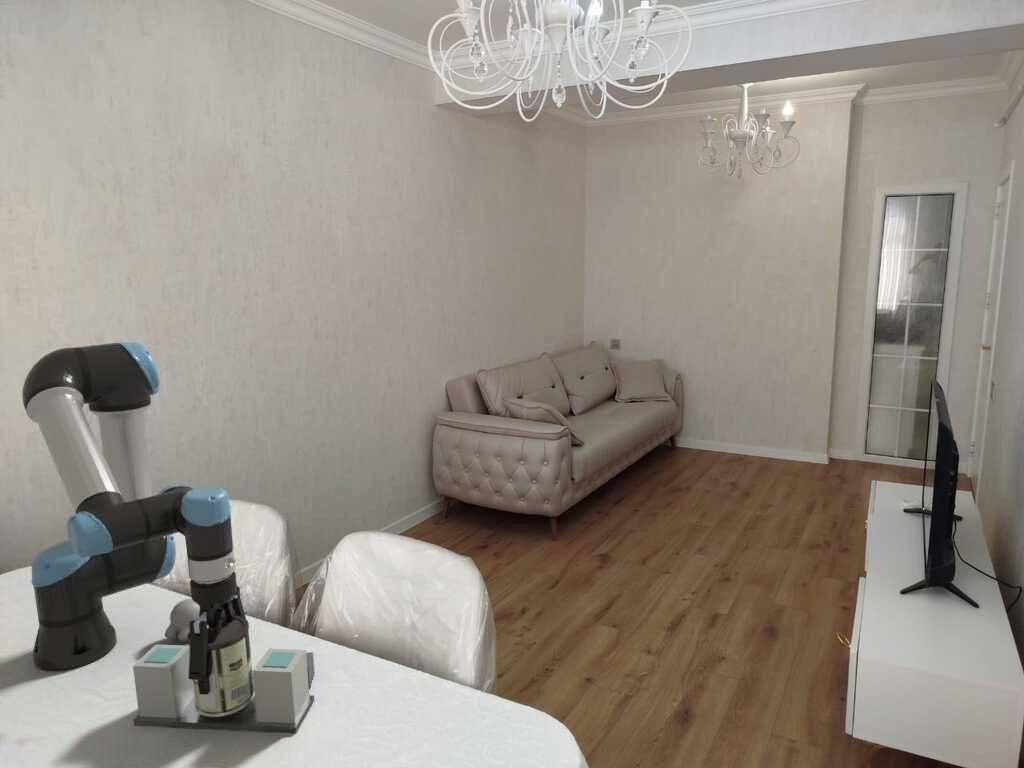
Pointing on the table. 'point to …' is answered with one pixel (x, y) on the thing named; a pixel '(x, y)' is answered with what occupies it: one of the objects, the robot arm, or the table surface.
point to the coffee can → (229, 669)
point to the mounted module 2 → (281, 685)
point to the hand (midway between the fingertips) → (223, 688)
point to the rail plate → (224, 720)
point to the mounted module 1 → (163, 681)
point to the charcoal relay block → (310, 667)
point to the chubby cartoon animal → (182, 619)
